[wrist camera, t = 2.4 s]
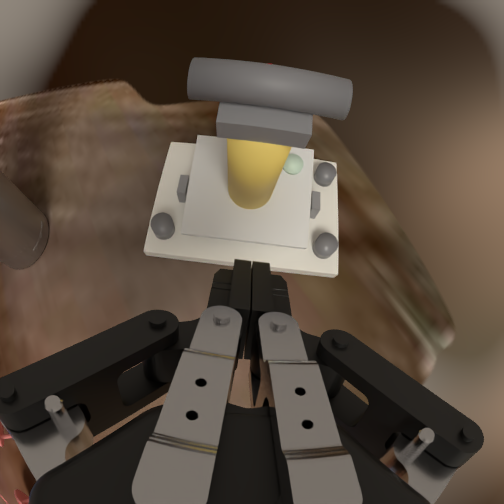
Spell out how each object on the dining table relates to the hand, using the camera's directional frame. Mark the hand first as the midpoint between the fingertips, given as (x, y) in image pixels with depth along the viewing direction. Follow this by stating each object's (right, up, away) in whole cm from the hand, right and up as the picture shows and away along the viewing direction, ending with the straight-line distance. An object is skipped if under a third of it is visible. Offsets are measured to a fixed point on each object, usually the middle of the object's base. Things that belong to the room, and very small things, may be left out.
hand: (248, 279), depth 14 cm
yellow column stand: (0, +8, +23) cm, 24 cm away
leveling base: (0, +7, +27) cm, 28 cm away
